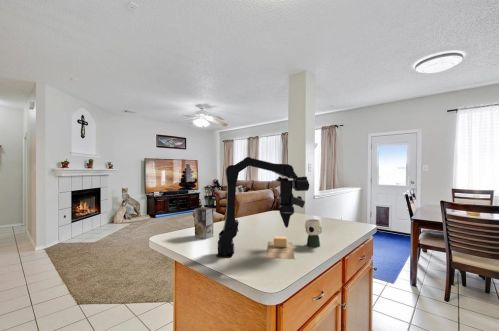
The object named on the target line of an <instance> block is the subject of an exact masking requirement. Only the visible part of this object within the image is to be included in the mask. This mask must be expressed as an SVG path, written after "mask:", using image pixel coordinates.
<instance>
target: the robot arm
mask: <svg viewBox="0 0 499 331" xmlns="http://www.w3.org/2000/svg"><path fill="white" fill-rule="evenodd" d="M247 167H251V168H255V169H261V170H264V171H268V172H272V173H274V174H276V175H279V176H278V177H277V178H276V179H275V182H279V215H280V217H281V219H282V220H281V221H282V222H283V224H284V227H285V228H289V224H290V219H291V216H292V215H294V214H295V206H297V207H300V208H301V209H302V208H304V206H305V204H306V201H305V200H304V199H303V197H302V196H300V195H298V196H295V195H294V193H293V190H294V191H295V192H308V191H309V189H310V183H309V180H308V176H298V175H297V173H296V172H295V170H294V167H293V165H292V164H289V163H288V164H287V163H274V162H270V161H265V160H260V159H257V158H252V157H249V156H247V157H244V158H243V159H242V160H240V161H239V162H237V163H235V164H230V165H228V166H227V167H226V168H225V170H224V172H225V180H226V185H227V188H226V189H227V191H226V214H225V219H224V223H223V224H224V225H223V228H222V230H221V231H220V232H219V233H218V240H217V254H216V257H219V258H232V257H233V255H234V254H235V243H234V238H235V237H236V236H237V234H238V232H239V220H238V219H236V217H235V216H236V215H235V214H236V192H237V188H236V187H237V182H238V179H239V175H240V174H239V173H240V172H241V171H244V170H245V169H246V168H247ZM294 205H295V206H294Z"/></svg>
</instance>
